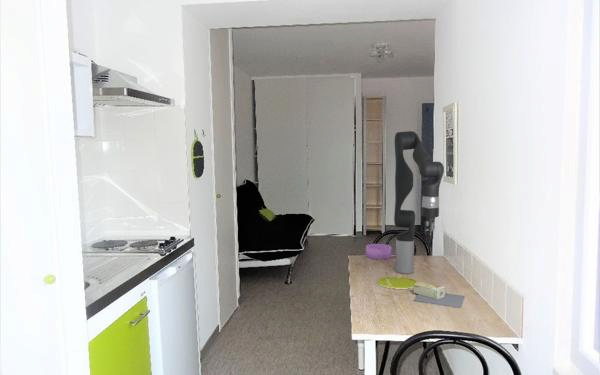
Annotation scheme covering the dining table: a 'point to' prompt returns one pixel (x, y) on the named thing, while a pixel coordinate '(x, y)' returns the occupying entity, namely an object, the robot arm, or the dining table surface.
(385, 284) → the dining table surface
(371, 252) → the purple basket
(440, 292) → the skincare box
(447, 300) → the mat
